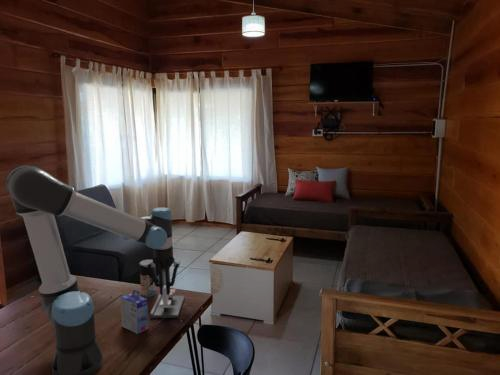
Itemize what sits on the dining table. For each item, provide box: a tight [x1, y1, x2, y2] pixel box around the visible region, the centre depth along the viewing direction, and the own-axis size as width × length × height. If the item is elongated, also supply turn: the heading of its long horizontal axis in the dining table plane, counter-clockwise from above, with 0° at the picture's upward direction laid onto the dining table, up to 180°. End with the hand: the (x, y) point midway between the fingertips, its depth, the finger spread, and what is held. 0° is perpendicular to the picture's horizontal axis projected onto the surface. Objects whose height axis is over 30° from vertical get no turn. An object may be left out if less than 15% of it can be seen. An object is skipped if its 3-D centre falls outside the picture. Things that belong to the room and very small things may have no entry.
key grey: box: [162, 290, 173, 298], centre depth 160 cm, size 4×4×1 cm
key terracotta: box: [170, 288, 177, 296], centre depth 165 cm, size 4×4×1 cm
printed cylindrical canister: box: [139, 259, 157, 298], centre depth 173 cm, size 7×7×15 cm
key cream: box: [160, 300, 171, 308], centre depth 156 cm, size 4×4×1 cm
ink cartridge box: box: [120, 289, 149, 335], centre depth 145 cm, size 10×6×14 cm, turn 55°
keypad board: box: [149, 293, 185, 319], centre depth 161 cm, size 17×11×2 cm, turn 1°
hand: (165, 301), depth 156 cm, fingers closed
